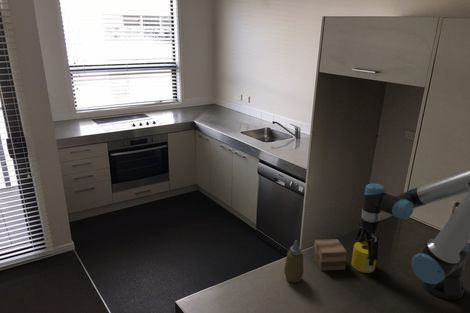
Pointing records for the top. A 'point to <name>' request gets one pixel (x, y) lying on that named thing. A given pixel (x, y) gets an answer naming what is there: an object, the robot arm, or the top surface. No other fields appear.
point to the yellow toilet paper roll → (361, 257)
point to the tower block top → (330, 250)
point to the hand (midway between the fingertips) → (363, 263)
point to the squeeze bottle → (294, 264)
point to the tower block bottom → (329, 264)
